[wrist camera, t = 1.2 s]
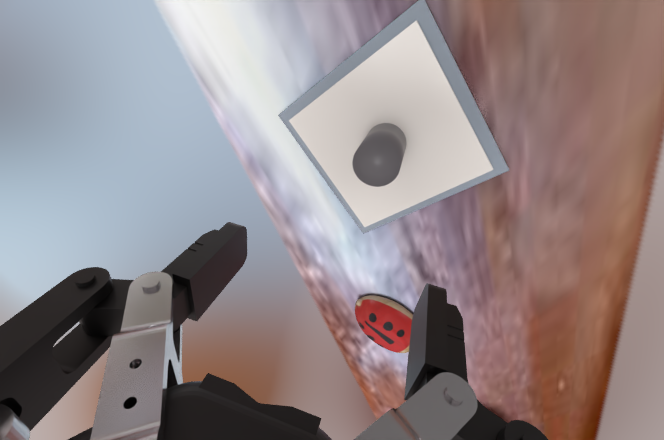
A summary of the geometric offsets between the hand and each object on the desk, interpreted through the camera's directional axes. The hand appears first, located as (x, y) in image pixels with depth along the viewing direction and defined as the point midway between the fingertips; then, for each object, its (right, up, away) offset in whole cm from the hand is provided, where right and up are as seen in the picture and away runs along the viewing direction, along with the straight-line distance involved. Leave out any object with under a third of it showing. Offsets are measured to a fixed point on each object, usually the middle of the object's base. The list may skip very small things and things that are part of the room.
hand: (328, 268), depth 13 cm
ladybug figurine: (+8, -10, +27) cm, 30 cm away
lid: (+5, +9, +14) cm, 18 cm away
